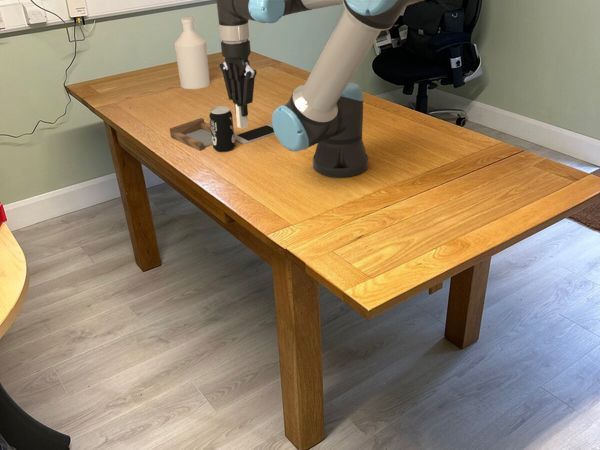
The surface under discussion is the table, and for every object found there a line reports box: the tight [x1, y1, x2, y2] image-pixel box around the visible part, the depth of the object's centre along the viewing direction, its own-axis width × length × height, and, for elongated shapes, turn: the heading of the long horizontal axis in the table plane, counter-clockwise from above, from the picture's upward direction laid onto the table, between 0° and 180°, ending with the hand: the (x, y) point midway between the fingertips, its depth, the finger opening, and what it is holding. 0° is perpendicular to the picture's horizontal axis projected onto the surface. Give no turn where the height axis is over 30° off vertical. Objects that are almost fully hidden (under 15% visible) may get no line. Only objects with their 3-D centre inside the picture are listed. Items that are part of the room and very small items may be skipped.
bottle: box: [173, 16, 211, 90], centre depth 223 cm, size 12×12×25 cm
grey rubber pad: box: [186, 129, 213, 149], centre depth 181 cm, size 12×8×1 cm
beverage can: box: [208, 106, 236, 153], centre depth 171 cm, size 7×7×12 cm
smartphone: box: [234, 123, 275, 145], centre depth 183 cm, size 7×16×1 cm, turn 130°
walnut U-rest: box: [169, 117, 211, 151], centre depth 181 cm, size 16×12×3 cm
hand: (242, 126), depth 163 cm, fingers closed
